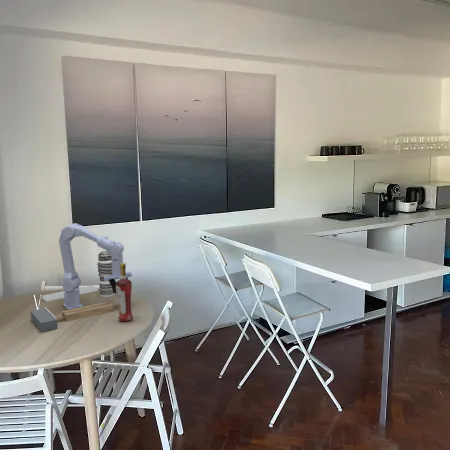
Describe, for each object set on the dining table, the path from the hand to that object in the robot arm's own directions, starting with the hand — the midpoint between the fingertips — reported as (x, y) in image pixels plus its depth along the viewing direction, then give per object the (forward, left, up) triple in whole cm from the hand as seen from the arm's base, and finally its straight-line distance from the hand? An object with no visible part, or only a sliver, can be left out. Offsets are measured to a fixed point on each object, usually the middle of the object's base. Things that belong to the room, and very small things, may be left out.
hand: (119, 292), depth 246 cm
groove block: (0, -39, -8) cm, 39 cm away
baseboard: (-39, -14, -9) cm, 42 cm away
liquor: (+19, -5, -9) cm, 21 cm away
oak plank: (0, -19, -8) cm, 21 cm away
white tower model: (-25, +3, -9) cm, 27 cm away
